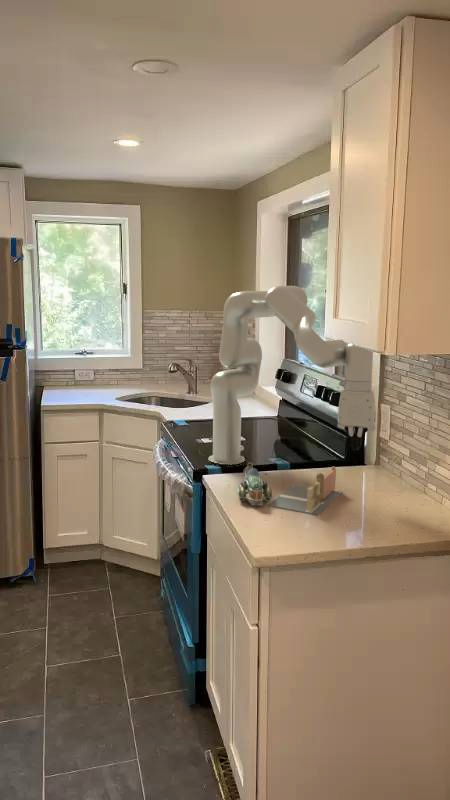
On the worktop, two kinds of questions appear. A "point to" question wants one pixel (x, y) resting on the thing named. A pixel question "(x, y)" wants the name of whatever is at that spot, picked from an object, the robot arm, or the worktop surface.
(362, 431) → the robot arm
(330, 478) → the fold panel
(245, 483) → the hoverbike
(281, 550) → the worktop surface
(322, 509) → the card
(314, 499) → the fence post
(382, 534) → the worktop surface
